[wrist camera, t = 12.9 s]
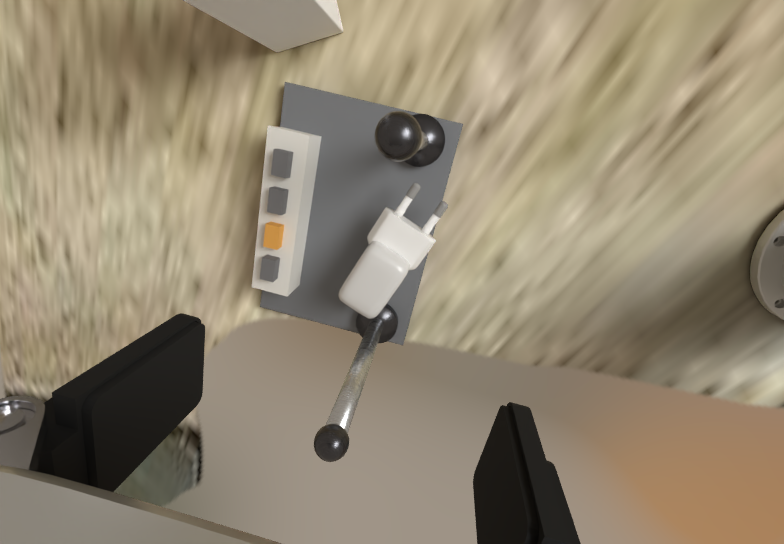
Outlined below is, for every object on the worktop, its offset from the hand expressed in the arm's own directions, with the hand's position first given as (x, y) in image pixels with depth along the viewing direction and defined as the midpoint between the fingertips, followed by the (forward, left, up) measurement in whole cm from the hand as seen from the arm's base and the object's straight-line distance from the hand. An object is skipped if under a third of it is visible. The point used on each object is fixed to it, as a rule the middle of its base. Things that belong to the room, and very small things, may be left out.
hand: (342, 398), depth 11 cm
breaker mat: (+5, +1, -24) cm, 25 cm away
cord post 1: (+1, +9, -23) cm, 25 cm away
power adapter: (+1, +1, -24) cm, 24 cm away
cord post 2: (+1, -8, -23) cm, 25 cm away
